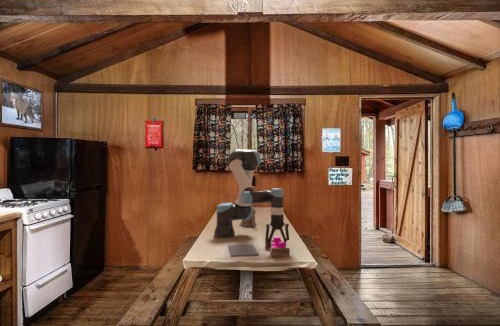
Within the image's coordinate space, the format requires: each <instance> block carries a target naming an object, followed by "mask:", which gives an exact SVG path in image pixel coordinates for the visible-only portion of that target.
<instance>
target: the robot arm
mask: <svg viewBox="0 0 500 326" xmlns="http://www.w3.org/2000/svg"><path fill="white" fill-rule="evenodd" d="M227 165H228V168H229V170H231V171H232V174H233V175H234V177H235V180H236V182H237V184H238V186H239V189H238V196H237V199H236V200H235V201H234V204H233V203H232V202H222V203H219V204H218V205H217V206H216V226H215V229H214V233H213V235H214V237H217V238H231V237H234V236H235V235H236V234H235V229H234V226H233V222H234V221H242V220H245V219H249V218H250V217H251V216H252V213H253V208H254V207H253V204H265V203H266V204H268V203H269V204H270V205H271V206H270V223H266V224H265V229H266V230H265V237H264V239H265V240H266V241H268V246H269V247H270V249H269V253H270V254H272V241H271V240H273V238H274V234H275V232H276V231H280V234H281V237H282V239H283V240H281V242H285V243H286V244H287V241H289V240H290V235H289V225H290V224H289V223H286V222H284V219H285V217H284V212H285V211H284V205H285V204H284V201H285V200H284V198H285V197H284V189H283V188H280V187H279V188H277V187H276V188H275V187H274V188H271V189H264V190H255V189H254V187H253V185H252V183H253V177H254V172H255V171H256V170H257V167H260V165H261V155H260V153H259V152H258V151H257V150H254V149H235V150H233V151H231V153H230V154H229V156H228V158H227ZM271 227H272V228H271ZM283 227H284V229H283ZM270 228H271V231H270ZM284 230H285V233H284Z"/></svg>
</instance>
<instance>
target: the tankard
mask: <svg viewBox="0 0 500 326" xmlns="http://www.w3.org/2000/svg"><path fill="white" fill-rule="evenodd" d="M256 213H257V209H256V208H254V207H253V213H252V216H251V217H250V218H249V219H245V220H241V221H240V223H239V224H240V225H241V226H243V227H254V226H256V225H257V222H256V216H255V215H256Z"/></svg>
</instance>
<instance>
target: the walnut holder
mask: <svg viewBox="0 0 500 326" xmlns="http://www.w3.org/2000/svg"><path fill="white" fill-rule="evenodd" d="M271 241H272V242H274V239H272V240H271ZM264 245H265V246H264V248H265V249H267V250H270V247H269V246H268V241H266V240H265V241H264ZM290 250H291V249H290V248H289V247H286V248H272V253H271V258H272V259H276V258H277V259H279V258H281V259H282V258H290V257H291V255H290Z"/></svg>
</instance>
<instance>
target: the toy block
mask: <svg viewBox="0 0 500 326" xmlns="http://www.w3.org/2000/svg"><path fill="white" fill-rule="evenodd" d="M273 240H274V242H272V248H287V242H286V243H285V242H282V239H281V237H280V236H273Z"/></svg>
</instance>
